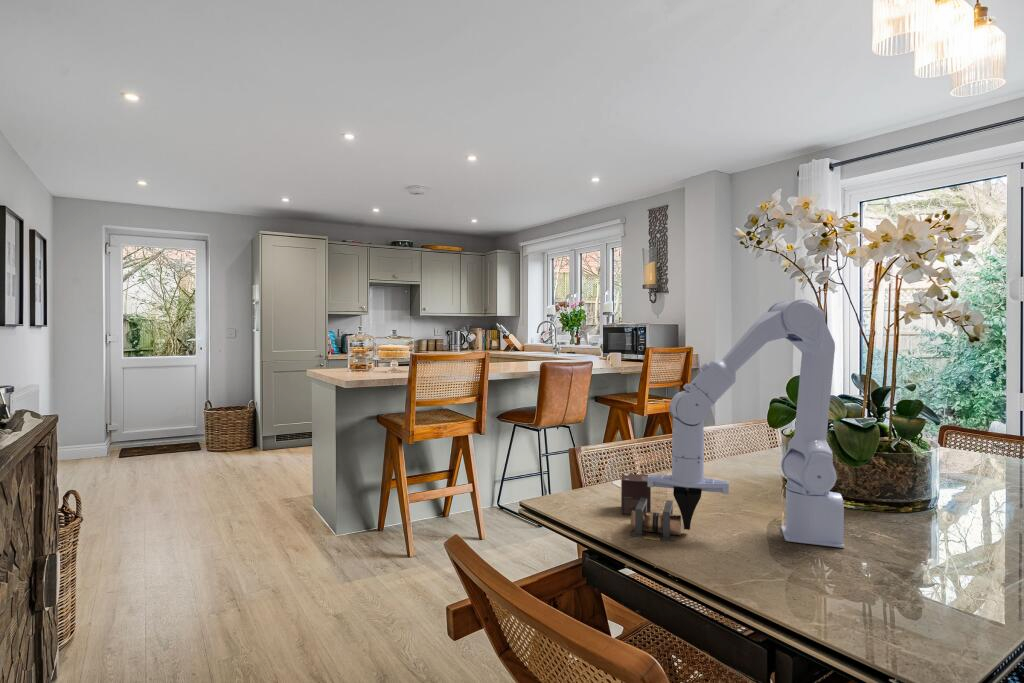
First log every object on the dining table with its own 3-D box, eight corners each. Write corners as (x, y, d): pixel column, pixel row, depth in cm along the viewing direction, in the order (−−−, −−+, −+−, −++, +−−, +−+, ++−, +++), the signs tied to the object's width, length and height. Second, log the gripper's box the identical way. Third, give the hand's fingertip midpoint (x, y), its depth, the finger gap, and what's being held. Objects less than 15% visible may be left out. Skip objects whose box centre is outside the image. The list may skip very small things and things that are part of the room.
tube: (681, 526, 112) (681, 511, 110) (680, 539, 109) (680, 524, 107) (633, 521, 115) (632, 506, 113) (631, 533, 112) (630, 518, 110)
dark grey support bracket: (677, 525, 115) (677, 500, 115) (674, 541, 106) (674, 513, 106) (662, 523, 116) (662, 498, 116) (657, 539, 107) (657, 511, 107)
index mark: (660, 539, 107) (660, 537, 107) (659, 540, 106) (659, 539, 106) (643, 537, 108) (643, 535, 108) (643, 538, 107) (643, 536, 107)
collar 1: (651, 522, 116) (651, 497, 116) (646, 537, 108) (646, 510, 108) (636, 520, 117) (636, 496, 117) (629, 535, 109) (630, 509, 109)
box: (650, 517, 120) (651, 481, 120) (621, 515, 121) (621, 479, 121) (649, 508, 126) (650, 474, 126) (621, 506, 127) (621, 472, 127)
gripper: (728, 454, 111) (727, 525, 111) (650, 449, 116) (650, 517, 116) (729, 462, 104) (728, 538, 104) (646, 456, 109) (645, 528, 109)
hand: (687, 527), depth 110 cm, fingers closed
